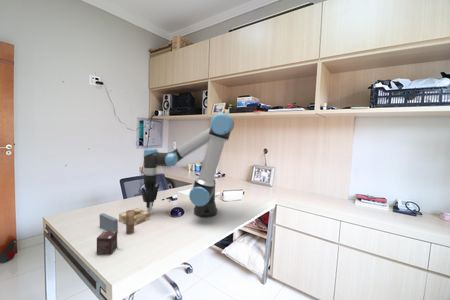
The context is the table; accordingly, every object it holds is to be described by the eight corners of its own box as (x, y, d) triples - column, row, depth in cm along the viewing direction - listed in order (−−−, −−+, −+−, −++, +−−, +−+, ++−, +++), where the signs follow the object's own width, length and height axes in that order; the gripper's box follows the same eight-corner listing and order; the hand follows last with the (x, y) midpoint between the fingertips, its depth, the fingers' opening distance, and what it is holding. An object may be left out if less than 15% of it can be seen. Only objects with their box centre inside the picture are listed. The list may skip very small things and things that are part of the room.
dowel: (135, 234, 105) (135, 211, 104) (128, 237, 102) (129, 213, 101) (131, 232, 107) (131, 209, 106) (124, 235, 104) (124, 211, 103)
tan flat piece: (149, 219, 120) (149, 212, 120) (131, 226, 110) (131, 219, 110) (137, 214, 126) (137, 208, 126) (119, 221, 116) (119, 214, 116)
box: (103, 247, 92) (103, 231, 92) (117, 247, 93) (117, 231, 92) (96, 255, 86) (96, 238, 86) (111, 254, 87) (111, 238, 86)
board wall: (157, 219, 123) (157, 206, 122) (110, 239, 99) (110, 222, 99) (141, 213, 131) (141, 201, 130) (94, 230, 107) (94, 215, 106)
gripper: (155, 171, 133) (154, 207, 134) (136, 174, 122) (136, 214, 124) (163, 173, 129) (162, 210, 130) (144, 176, 118) (144, 217, 119)
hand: (149, 212), depth 127 cm, fingers closed
